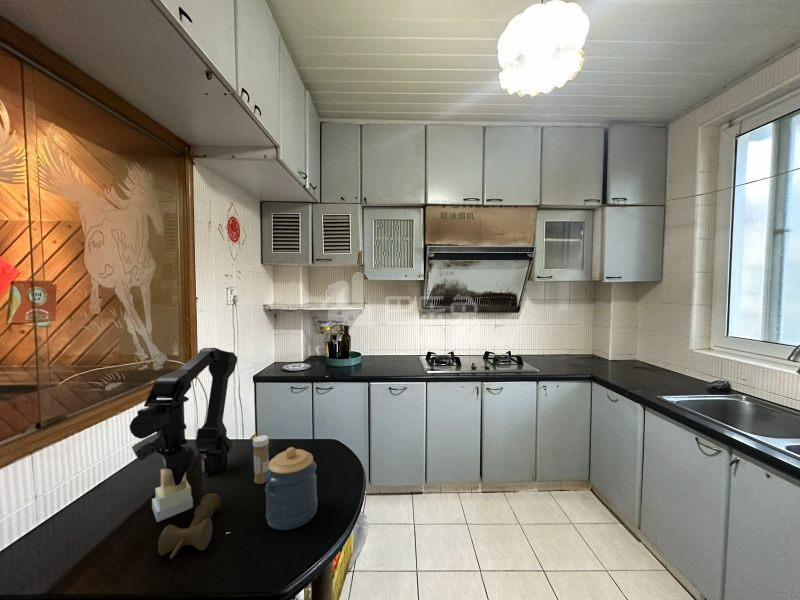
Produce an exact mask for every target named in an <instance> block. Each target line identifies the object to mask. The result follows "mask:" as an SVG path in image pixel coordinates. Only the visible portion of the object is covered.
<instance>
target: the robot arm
mask: <svg viewBox="0 0 800 600" xmlns="http://www.w3.org/2000/svg"><path fill="white" fill-rule="evenodd" d="M237 362H238V357H237V355H236V354H235V353H234V352H233V351H232V352H231V351H225V350H221V349H219V348H217V347H203V348H201V349H200V350H199V352H198V353H196V354H195V356H193V357H192V358H191V359H189V360H188V361H186V363H184V364H183V365H182V366H181V367H180V368H178V369H177V370H175V371H171V372H168V373H165V374H164V375H162V376H160V377H158V378H157V379H156V380H155V381H154V382H153V386H152V387H151V389H150V392H149V393H148V396H147V397H146V400H145V402H144V405H143V407H144V408H140V409H139V410H138V411H137V415H136V416H135V417H133V419H132V420H131V422H130V424H129V431H130V433H131V434H132V436H134V437H135V438H137V439H141V440H140V441H138V442H136V443H135V444H134V445H132V447H131V448H132V451H133V453H134V455H135V456H136V457H137V460H138V462H139V461H140V462H142V461H144V460H146V459H147V458H148V457H149V456H151V455H153V454H154V453H158V454H160V455H162V460H163V461H162V462H163V466H164V469H165V468H166V469H170V470H171V472H172V476H173V480H174V483H175V486H177V485H179V484H180V483H181V481H182V479H183V477H184V475H185V472H186V473H187V470H188V468H189V466H190V465H191V463H192V461H194V459H195V450H193V448H192V447H190V446H188V445H186V444H188V439H187V438H186V431H185V430H187V424H186V423H185V403H186V402H189V397H188V396H185V395H186V394H187V393H188V391H189V390H190V389H191V388H192V382H193V380H194V379H195V378H196V377H198V376H199V374H201V373H202V372H203V371H204V370H205V369H206V368H207V367H208V372H209V373H210V375H211V378H212V379H211V386H210V392H209V399H208V405H207V413H206V419H205V423H204V424H203V425H202V427H198V429H197V431H196V439H195V447H196V451H197V453H198V455H203V457H202V459H201V466H202V467H201V470H202V472H203V473H204V474H205V475H206V476H207V477H211V476H213V475H217V474H220V473H222V472H224V471H227V470H229V469H230V467H229V465H228V453H229V452H230V451H231V449H232V445H233V441H232V440H231V439H230V438H229V437H228V436H227V431H228V430H227V428H226V426H225V424H224V421H223V420H224V413H225V407H226V406H225V405H226V399H227V398H226V397H227V392H228V391H227V390H228V384H229V379H230V377H231V376H232V374H233V373H234V372H235V370H236V365H237ZM183 445H184V446H183Z"/></svg>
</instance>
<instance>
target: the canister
mask: <svg viewBox="0 0 800 600" xmlns="http://www.w3.org/2000/svg"><path fill="white" fill-rule="evenodd" d="M316 471H317V463H316V461H314V456H313V454H312V453H310V452H309V451H306V450H304V449H301V448H299V449H298V448H295V447H293V446H290V447H288V448H287V449H286V450H284V451H282V452H280V453H278V454H276V455H275V456H274V457H272V458H271V460H269V464H268V469H267V471H266V473H265V479H266V481H267V482H266V483H265V488H264V491H265V507H266V508H265V518H266V522H267V524H268V526H269V527H271V528H272V529H275V530H276V531H277V530H279V531H290V530H293V529H297V528H300V527H302V526H303V525H306V524H307V523H308V522H310V521H311V520H312V519H313V518H314V517H315V515H316V513H317V508H318V497H317V496H318V495H317V493H318V492H317V481H318V477H317V474H316V473H315V472H316Z"/></svg>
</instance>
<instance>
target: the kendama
mask: <svg viewBox="0 0 800 600" xmlns="http://www.w3.org/2000/svg"><path fill="white" fill-rule="evenodd" d="M221 504H222V500H221V497H220V496H219V494H216V493H214V492H213V493H211V492H210V493H207V494H205V495H204V496H202V498H201V500H200V504H198V505H197V506H195V509H194V512H193V515H194V517H193V520H192V521H191V523H190V525H189V526H188V527H187V528H181V527H177V525H176V526H175V525H173V524H168V525H167V526H165V527H164V529H163V530H162V532H160V533H161V534H160V536H159V539H158V543H157V549H158V554H159V555H160V556H165V555H167V554H169V553H170V552H171V554H170V555H169V559H173V558H174V557H175V555H176V554H177V553H178V552H179V550H181V548H182V547H183V546H193V547H194V548H196V549H198V550H199V551H204V550H206V549H207V547H208V546H209V544H210V542H211V538H212V534H213V521H212V520H211V518H212V517H213V515H214V512H216V511H218V510H219V509H220V507H221Z"/></svg>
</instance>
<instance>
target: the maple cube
mask: <svg viewBox="0 0 800 600" xmlns="http://www.w3.org/2000/svg"><path fill="white" fill-rule="evenodd" d="M186 480H187V471H186V472H185V475H184V477H183V479H182V481H181V483H180V484H179V485H177V486H175V483H174V480H173V476H172V472H171V470H170V469H166V468H165V467H164V468H162V469H160V486H161V489H162V491H163V494H164V495H167V494H170V493H173V492H175V491H178V490H181V489H184V488H186Z"/></svg>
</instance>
